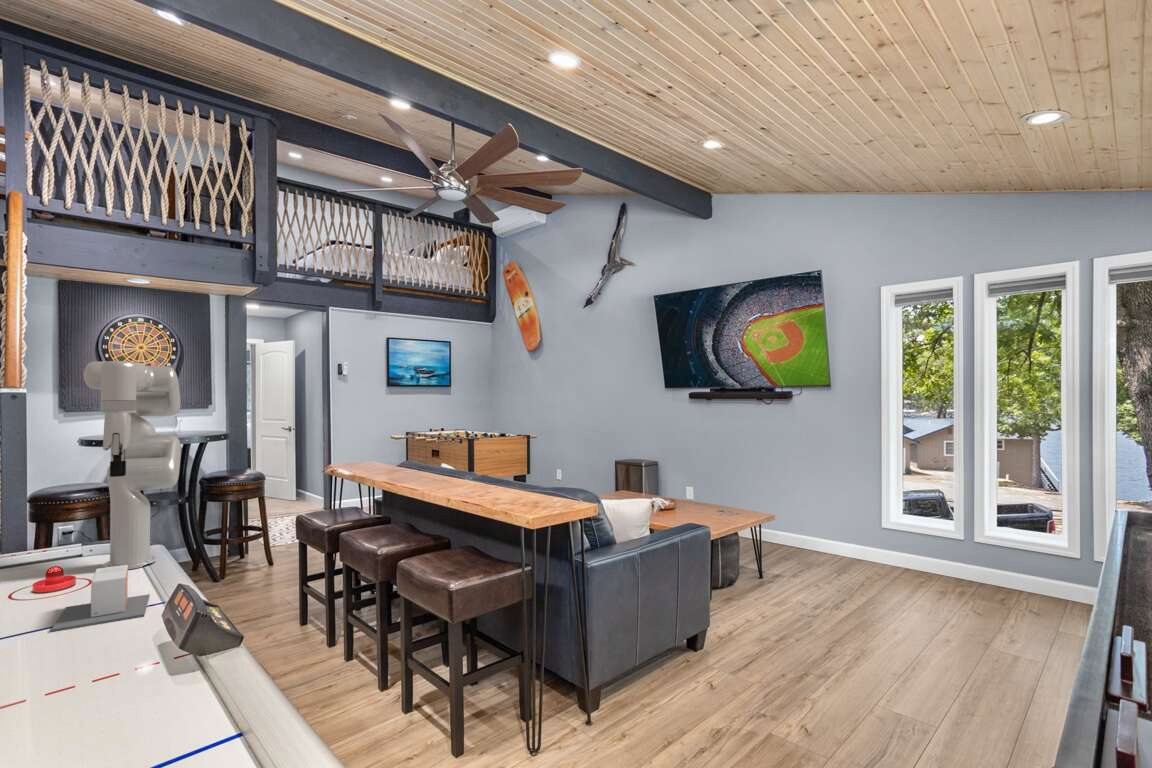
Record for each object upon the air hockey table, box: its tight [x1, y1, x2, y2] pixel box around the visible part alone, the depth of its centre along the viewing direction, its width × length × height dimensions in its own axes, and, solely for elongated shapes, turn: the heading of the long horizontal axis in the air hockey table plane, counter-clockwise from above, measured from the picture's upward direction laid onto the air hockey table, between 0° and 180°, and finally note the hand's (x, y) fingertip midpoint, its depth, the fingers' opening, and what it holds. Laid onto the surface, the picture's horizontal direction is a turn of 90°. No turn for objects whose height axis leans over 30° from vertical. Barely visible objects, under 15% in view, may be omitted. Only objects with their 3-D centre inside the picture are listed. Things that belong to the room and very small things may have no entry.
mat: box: [50, 594, 151, 633], centre depth 135 cm, size 16×16×1 cm
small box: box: [90, 565, 129, 617], centre depth 138 cm, size 8×6×13 cm
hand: (117, 475), depth 155 cm, fingers closed
